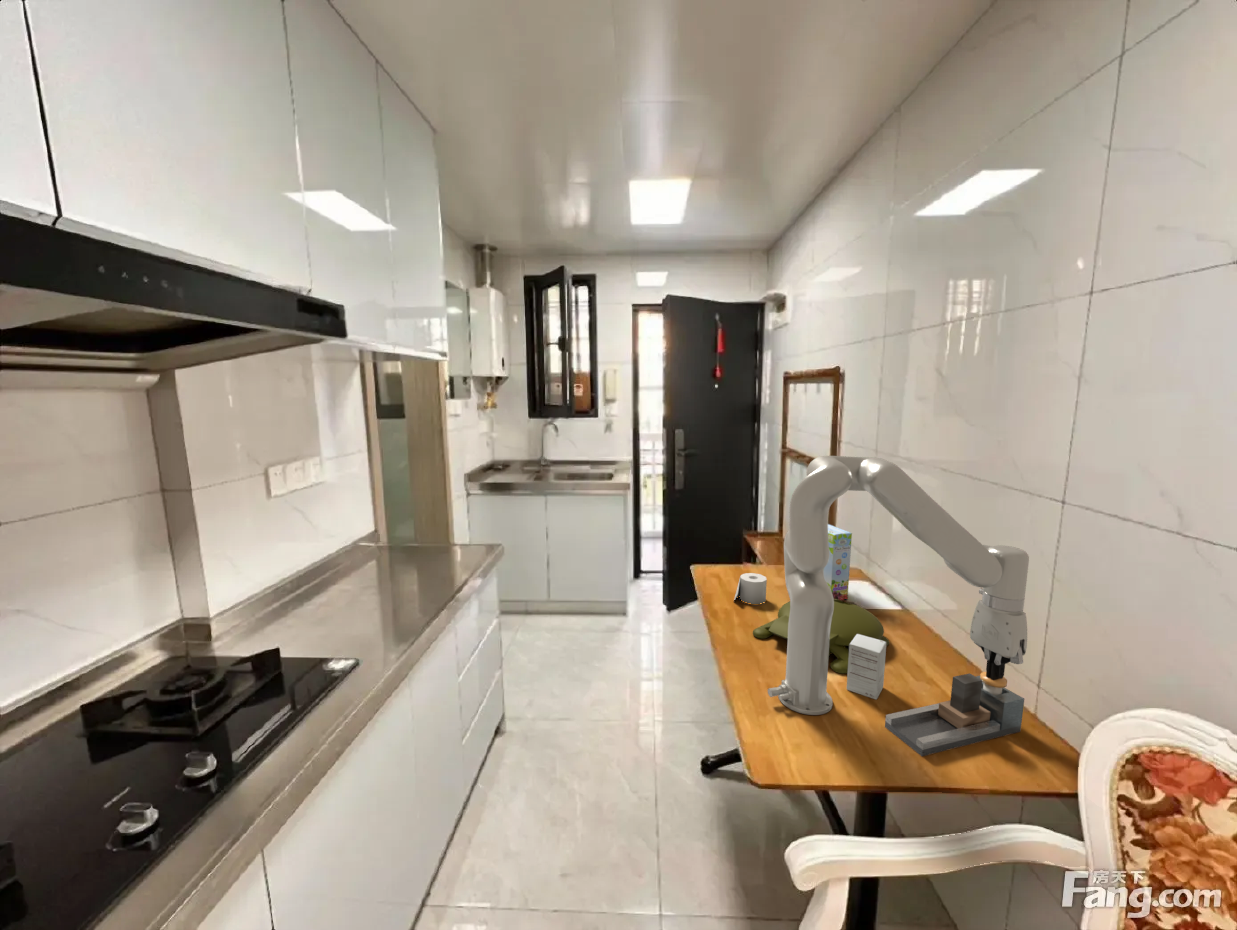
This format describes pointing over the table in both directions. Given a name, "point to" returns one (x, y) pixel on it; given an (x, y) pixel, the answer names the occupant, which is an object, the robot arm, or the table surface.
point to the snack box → (838, 562)
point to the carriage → (964, 703)
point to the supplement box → (866, 666)
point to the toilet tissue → (752, 588)
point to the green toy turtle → (832, 630)
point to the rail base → (938, 735)
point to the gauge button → (993, 684)
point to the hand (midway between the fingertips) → (994, 677)
